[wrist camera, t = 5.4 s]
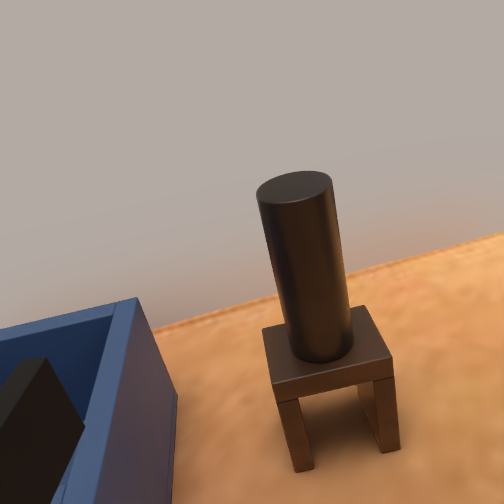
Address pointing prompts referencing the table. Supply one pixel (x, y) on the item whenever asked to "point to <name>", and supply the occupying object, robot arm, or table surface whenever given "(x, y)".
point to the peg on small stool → (319, 315)
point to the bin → (107, 400)
